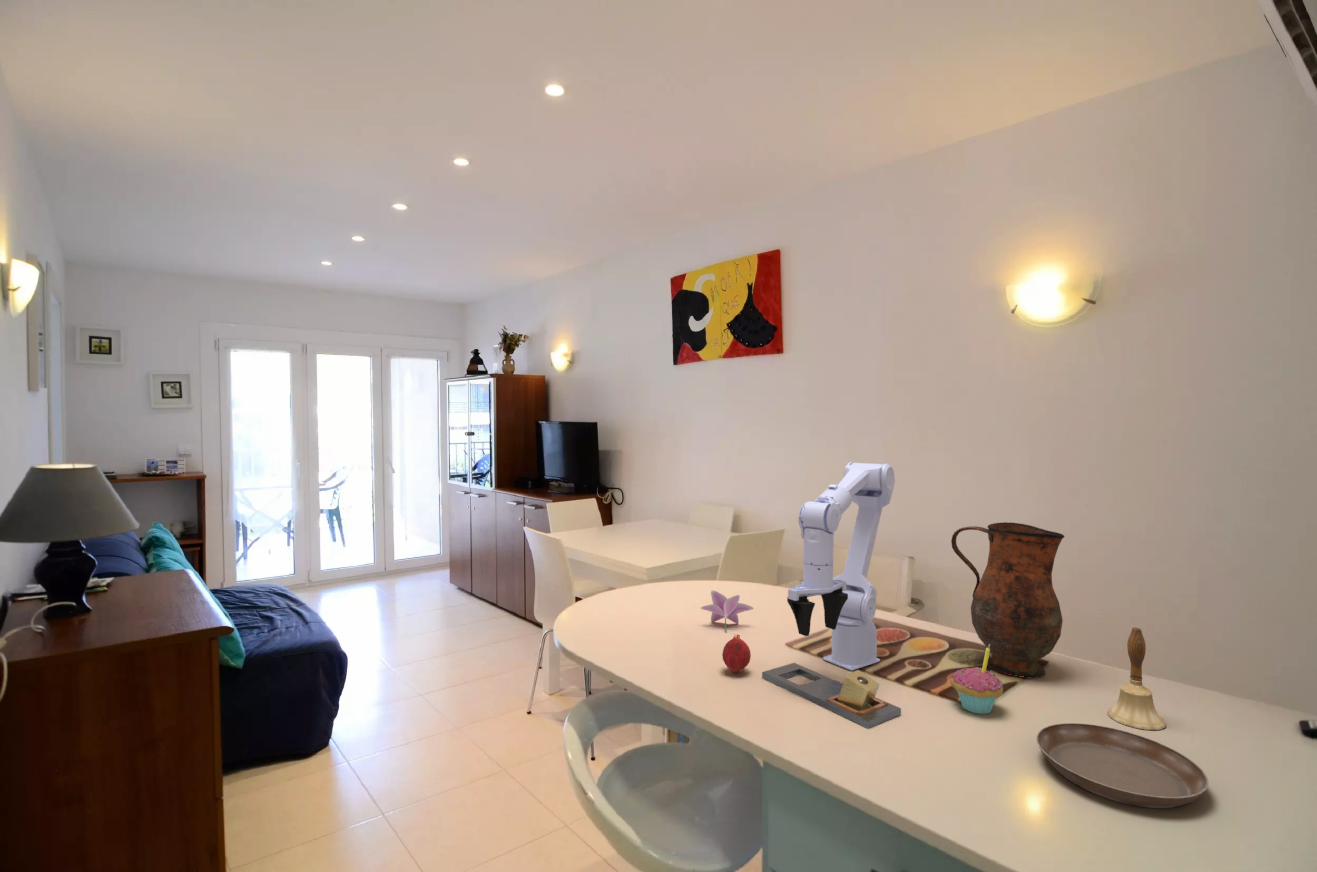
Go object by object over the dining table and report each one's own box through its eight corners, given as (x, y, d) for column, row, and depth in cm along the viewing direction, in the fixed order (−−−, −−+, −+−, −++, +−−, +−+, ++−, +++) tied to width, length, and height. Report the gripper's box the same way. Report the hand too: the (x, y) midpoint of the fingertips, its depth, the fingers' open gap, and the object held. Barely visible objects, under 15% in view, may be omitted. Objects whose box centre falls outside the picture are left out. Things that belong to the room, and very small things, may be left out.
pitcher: (1056, 692, 126) (1059, 536, 125) (939, 666, 139) (941, 525, 138) (1067, 666, 139) (1069, 524, 138) (959, 644, 152) (961, 515, 151)
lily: (760, 633, 164) (755, 595, 168) (737, 626, 155) (733, 585, 160) (718, 640, 170) (715, 603, 174) (694, 633, 161) (691, 594, 165)
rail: (793, 668, 138) (794, 661, 138) (900, 714, 117) (901, 706, 117) (762, 677, 133) (762, 670, 133) (867, 728, 112) (867, 720, 112)
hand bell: (1096, 713, 117) (1098, 624, 117) (1126, 705, 120) (1127, 619, 120) (1146, 734, 109) (1148, 639, 109) (1177, 725, 113) (1179, 632, 112)
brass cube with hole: (849, 692, 123) (858, 669, 121) (870, 707, 120) (879, 683, 118) (837, 699, 119) (845, 676, 118) (858, 715, 117) (867, 691, 115)
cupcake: (998, 702, 122) (999, 637, 121) (1006, 722, 114) (1007, 653, 113) (948, 695, 125) (948, 632, 124) (952, 715, 117) (953, 647, 116)
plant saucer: (1210, 773, 98) (1211, 751, 98) (1204, 840, 82) (1204, 814, 82) (1052, 729, 112) (1052, 710, 112) (1021, 780, 96) (1021, 757, 96)
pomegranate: (749, 679, 132) (749, 639, 132) (720, 677, 134) (721, 638, 133) (751, 668, 138) (751, 630, 138) (724, 666, 139) (724, 628, 139)
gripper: (827, 555, 137) (827, 620, 137) (777, 563, 129) (776, 631, 129) (855, 561, 131) (854, 629, 132) (803, 569, 123) (802, 642, 124)
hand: (817, 631), depth 130 cm, fingers open, 7 cm apart
